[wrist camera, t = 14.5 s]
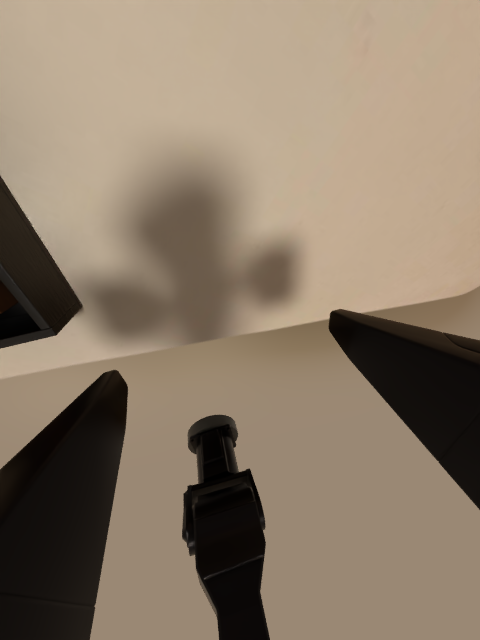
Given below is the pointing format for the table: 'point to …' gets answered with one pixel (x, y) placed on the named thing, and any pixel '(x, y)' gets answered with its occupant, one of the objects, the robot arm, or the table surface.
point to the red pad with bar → (6, 298)
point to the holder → (30, 280)
